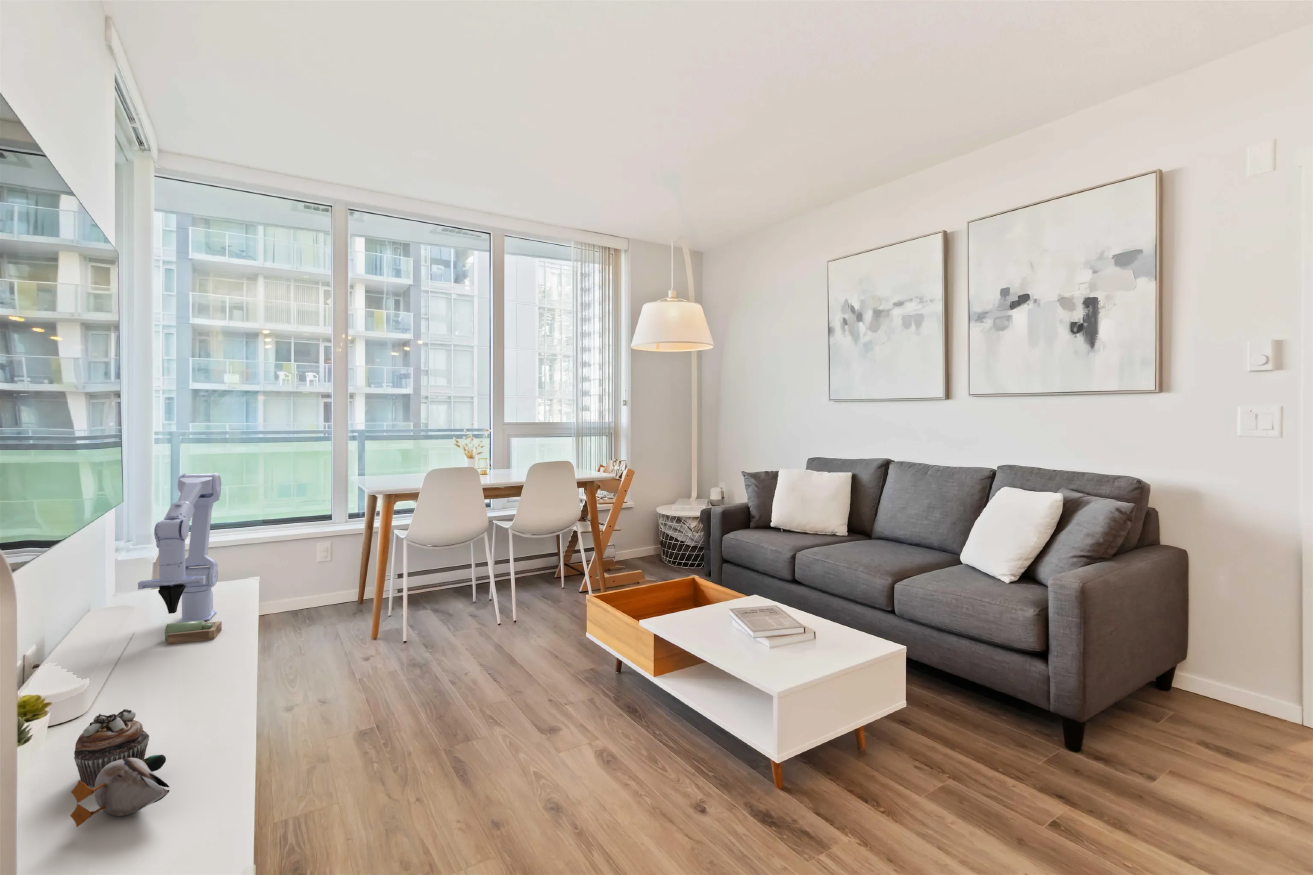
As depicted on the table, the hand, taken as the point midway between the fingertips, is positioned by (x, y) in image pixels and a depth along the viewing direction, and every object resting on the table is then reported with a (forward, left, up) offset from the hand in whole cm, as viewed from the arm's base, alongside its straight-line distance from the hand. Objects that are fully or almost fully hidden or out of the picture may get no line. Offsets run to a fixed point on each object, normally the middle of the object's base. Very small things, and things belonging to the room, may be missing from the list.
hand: (172, 612), depth 168 cm
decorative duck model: (+87, +19, -8) cm, 89 cm away
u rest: (0, +4, -7) cm, 9 cm away
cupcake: (+75, +11, -8) cm, 76 cm away
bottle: (0, -1, -5) cm, 5 cm away
